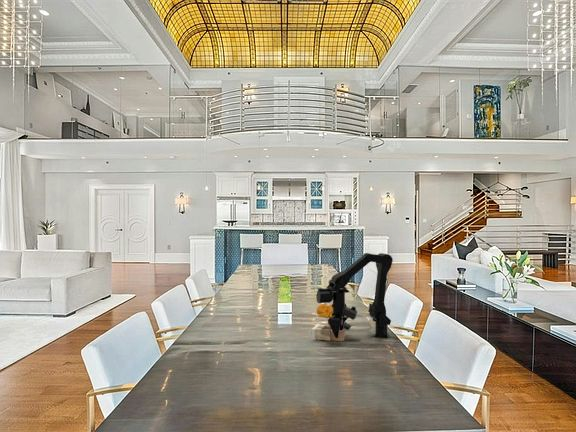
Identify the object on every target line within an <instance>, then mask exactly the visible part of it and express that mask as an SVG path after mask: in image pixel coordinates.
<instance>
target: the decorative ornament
mask: <svg viewBox="0 0 576 432" xmlns="http://www.w3.org/2000/svg"><path fill="white" fill-rule="evenodd" d="M332 304H333V303H330V304H329V305H328V303H320V304H319V305H318V306H317V308H316V315H318V317H323V318H326V319H329V318H330V317H331V316H332V313H333V307H332ZM345 317H347V316H345Z"/></svg>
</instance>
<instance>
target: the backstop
mask: <svg viewBox="0 0 576 432" xmlns="http://www.w3.org/2000/svg"><path fill="white" fill-rule="evenodd" d="M319 325H322V324H321V323H316V325H315V326H314V327H312V328H311V341H316V340H317V339H315V329H316V328H317V327H318V326H319Z"/></svg>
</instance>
